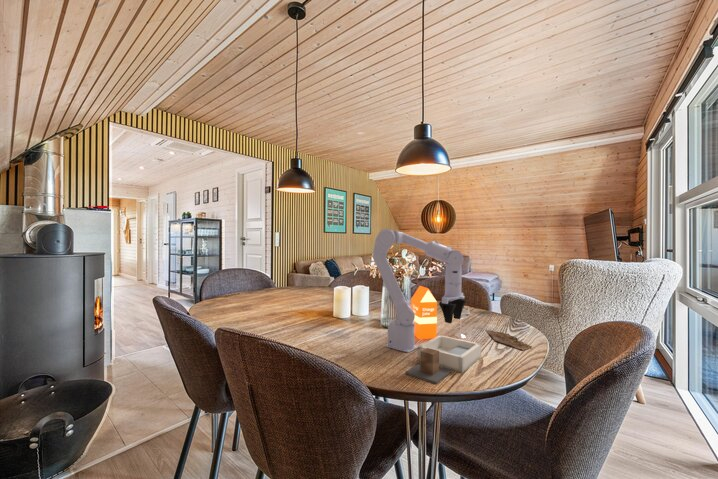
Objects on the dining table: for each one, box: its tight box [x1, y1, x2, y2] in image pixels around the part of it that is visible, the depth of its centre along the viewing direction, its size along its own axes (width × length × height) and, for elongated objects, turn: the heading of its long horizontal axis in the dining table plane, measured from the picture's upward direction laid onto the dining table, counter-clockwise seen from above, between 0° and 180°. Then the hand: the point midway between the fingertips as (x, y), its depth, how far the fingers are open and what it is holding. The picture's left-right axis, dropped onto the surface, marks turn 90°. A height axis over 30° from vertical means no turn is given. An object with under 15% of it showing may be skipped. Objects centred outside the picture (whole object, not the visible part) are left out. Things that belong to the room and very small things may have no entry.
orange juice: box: [410, 285, 438, 340], centre depth 131 cm, size 8×9×20 cm
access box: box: [417, 334, 482, 373], centre depth 106 cm, size 15×16×4 cm
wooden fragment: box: [485, 329, 533, 352], centre depth 127 cm, size 26×11×1 cm, turn 5°
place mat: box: [404, 362, 453, 385], centre depth 94 cm, size 10×10×1 cm
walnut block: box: [419, 348, 440, 375], centre depth 94 cm, size 4×4×6 cm
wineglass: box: [454, 304, 471, 339], centre depth 131 cm, size 7×7×12 cm
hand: (452, 320), depth 114 cm, fingers open, 7 cm apart
